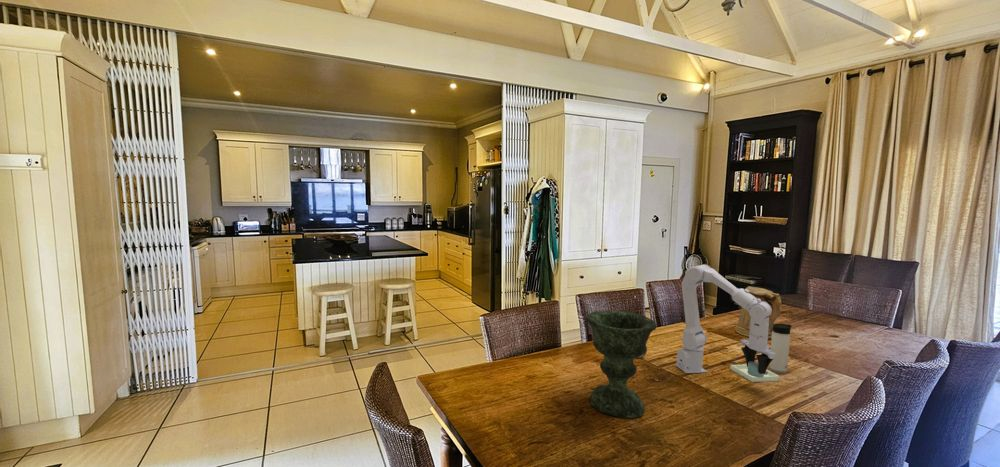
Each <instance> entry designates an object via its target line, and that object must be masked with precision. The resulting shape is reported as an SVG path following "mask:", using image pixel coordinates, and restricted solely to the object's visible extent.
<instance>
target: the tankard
mask: <svg viewBox="0 0 1000 467" xmlns="http://www.w3.org/2000/svg"><path fill="white" fill-rule="evenodd" d="M746 289H747V290H749V293H750V294H751V295H753V296H754V297H756V298H757V299H758V298H759V299H760V300H761V301H764V302H767V303H768V304H769V305H770V306H771V308H772V313H771V315H770V316H768V317H769V328H768V340H771V339H772V329H773V324H775V322H776V320H777V319H778V317H779V316H780V314H781V312H782V309H783V308H782V299H781V298H782V296H781V295H780V294H779V293H774V292H773V291H772V290H769V289H766V288H762V287H756V286H747V287H745V288H744V290H746ZM766 318H767V317H766ZM750 322H751V316H750V314H749V311H747V310H746V309H744V308H743V307H742V306H741V310H740V313H739V317H738V321H737V322H736V325H735V328H734V331H735V332H736V333H737V334H740V335H741V336H744V337H748V338H749V335H750Z"/></svg>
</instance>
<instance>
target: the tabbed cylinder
mask: <svg viewBox="0 0 1000 467" xmlns="http://www.w3.org/2000/svg"><path fill="white" fill-rule="evenodd" d="M747 373H748V374H749V375H751V376H754V377H764V375H768V371H766V372H765V374H760V373H759V372H758V361H756V360H754V361H749V362H748V372H747Z"/></svg>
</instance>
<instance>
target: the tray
mask: <svg viewBox="0 0 1000 467" xmlns="http://www.w3.org/2000/svg"><path fill="white" fill-rule="evenodd" d="M730 370H731V371H732V372H734V373H736V374H737V375H739V376H740V377H742V378H744V379H746V380H747V381H749V382H750V383H765V382H767V383H768V382H780V375H778V374H776V372H773V371H771V370H770V369H767V370H766V371H768V375H764V377H754V376H751V375H749V374H748V373H747V372H748V367H747V364H730Z"/></svg>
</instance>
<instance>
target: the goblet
mask: <svg viewBox="0 0 1000 467" xmlns="http://www.w3.org/2000/svg"><path fill="white" fill-rule="evenodd" d="M584 319H585V321H586V323H587V324H589V326H590V330H591V332H592V337H593V341H592V344H593V346H594V347H593V348H595V350H596V351H597V352H598V353H599V354H601V355H603V360H602V361H601V362H600V363H599V368H600V370H601V372H602V374H604V375H606V378H607V381H608V384H601V385H598V386H597V387H595V388H594V389H593V390H592V391H591V394H590V396H589V402H590V404H591V406H593V408H595V409H596V410H597V411H599V412H601V413H603V414H605V415H609V416H612V417H617V418H624V419H625V418H626V419H637V418H640V417H642V416H643V415H644V413H645V405H644V402H643V400H642V398H641V397H640V396H639V394H638V393H637V392H635V391H634V390H632V389H630V388H629V387H627V382H628V380H629V379H631V378H632V377H634V376H635V375H636V374H637V370H638V368H637V366H636V364H635V363H634V359H639V358H638V357H640V356H642V355H643V354H644V353H645V352H646V347H647V343H648V340H649V338H650V335H651V333H652V332H653V331H655V330H656V329H657V327H658V324H657V322H655V321H654V320H653V319H651V318H649V317H647V316H645V315H642V314H639V313H634V312H629V311H623V310H599V311H593V312H590V313H588V314H587V315H586V316H585V318H584ZM646 353H647V352H646Z"/></svg>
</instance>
